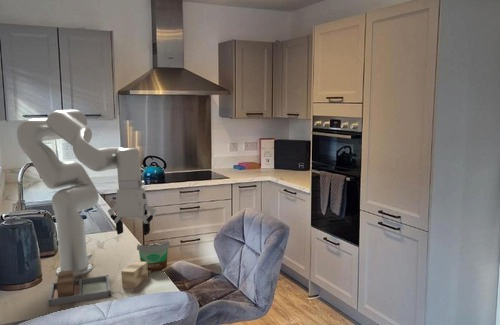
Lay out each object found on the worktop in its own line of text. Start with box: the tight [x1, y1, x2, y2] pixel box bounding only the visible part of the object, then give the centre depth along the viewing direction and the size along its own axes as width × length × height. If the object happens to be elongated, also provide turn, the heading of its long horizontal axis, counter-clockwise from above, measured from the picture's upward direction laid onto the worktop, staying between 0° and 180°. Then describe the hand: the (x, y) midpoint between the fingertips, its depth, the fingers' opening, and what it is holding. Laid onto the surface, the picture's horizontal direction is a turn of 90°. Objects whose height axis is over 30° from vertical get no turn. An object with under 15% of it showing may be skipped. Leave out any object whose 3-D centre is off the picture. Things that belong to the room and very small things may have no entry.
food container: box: [136, 238, 171, 273], centre depth 168 cm, size 12×6×10 cm, turn 114°
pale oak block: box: [120, 260, 149, 289], centre depth 157 cm, size 10×4×6 cm, turn 166°
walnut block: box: [56, 270, 75, 298], centre depth 148 cm, size 10×4×6 cm, turn 20°
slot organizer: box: [48, 274, 112, 306], centre depth 149 cm, size 15×18×2 cm
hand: (133, 233), depth 154 cm, fingers open, 9 cm apart
